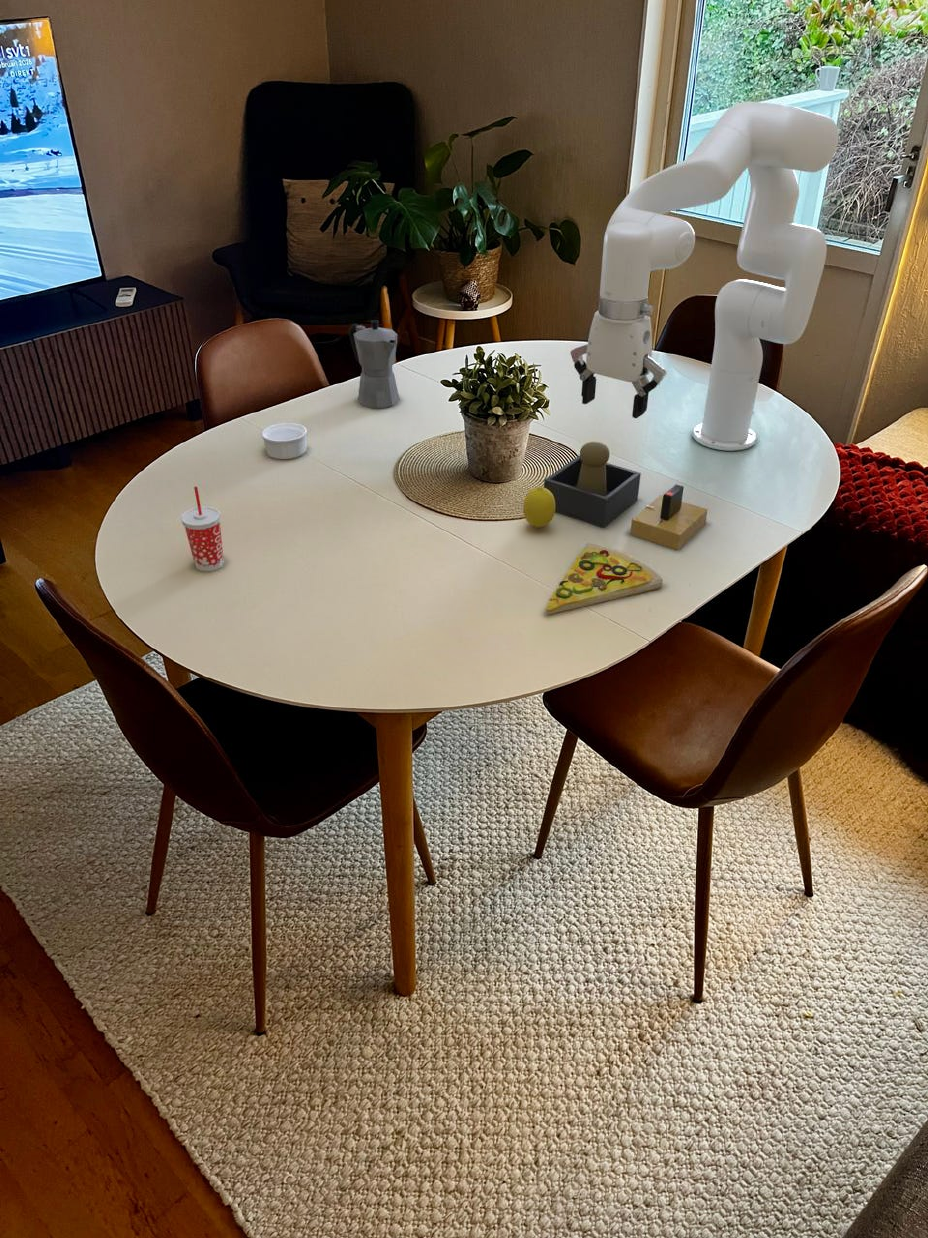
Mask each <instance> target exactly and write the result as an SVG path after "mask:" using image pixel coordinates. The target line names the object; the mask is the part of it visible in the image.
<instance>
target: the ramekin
mask: <svg viewBox="0 0 928 1238" xmlns="http://www.w3.org/2000/svg"><path fill="white" fill-rule="evenodd" d="M307 434H308V429H307V427H305V426H304V425H302V424H300V423H295V422H281V423H275V424H272V425H269V426H267V427H265V428H264V429H263V430H262V431H261V436H262V440H263V443H264V448H265V452H266V454H267V455H268V456H269V457H271V458H273V459H277V460H290V459H295V458H298V457H300V456H302V455H303V454H305V452H306V451H307V447H308V446H307V445H308V444H307Z"/></svg>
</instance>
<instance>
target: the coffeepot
mask: <svg viewBox="0 0 928 1238" xmlns="http://www.w3.org/2000/svg"><path fill="white" fill-rule="evenodd" d="M370 324H371V327H368V328H366V326H364V325H361V324H360V325H359V324H358V323H352V324H351V326H350V327H349V329H348V336H349V339H350V343H351V347H352V350H353V354H354V357H355V358H354V359H355V360H356V361H357V362H358V363H359V365H360V366H361V373H360V376H359V384H358V385H359V386H358V395H357V401H358V403H359V404H360V405H361V406H362V407H364V408H368V409H378V410H379V409H380V410H381V409H387V408H391V407H393V406H396V405H397V404H398V402H399V401H401V400H400V394H399V391H398V385H397V381H396V377H395V373H394V371H393V366H394V365H395V362H396V361H395V360H396V354H397V353H396V352H397V344H398V334H397V333H396V331H394V329H391V328H386V327H379V320H377V319H373V320H370Z"/></svg>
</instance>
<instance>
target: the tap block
mask: <svg viewBox="0 0 928 1238" xmlns="http://www.w3.org/2000/svg"><path fill="white" fill-rule="evenodd" d="M663 495H664V494H660V495H659V496H658V497H657V498H655V499H654V500H653V501H652V502H650V503H649V504H648V505H645V507H644V509H642V510H641V511H640V512H639V513H637V514H636V515H635V516H634V517H633V518H632V519H631V525H630V533H629V535H630V536H634V537H637V538H640V539H643V540H646V541H649V542H651V543H655V544H658V545H661V546H664V547H667V548H670V549H673V550H676V551H679V550H680V549H681V548H682V547H683V546H684V545H685V544H686V543H688V542H689V540H690V539H691V538H692V537H693V536H695V535H696V534H697V533H698V532H699V531H700V530H701V529H702V528H704V526H705V525H706V521H707V518H708V517H707V516H708V510H709V509H708V508H705V507H702V506H699V505H695V504H693V503H689V502H685V501H682V503H681V509H680V510H679V511H678V512H677V513H676V514H675V515H674V516H672V517H671V518H670V519H669V520H668V521H667V520H664V519H661V518H660V515H661V508H662V501H663Z"/></svg>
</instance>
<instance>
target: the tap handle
mask: <svg viewBox="0 0 928 1238" xmlns="http://www.w3.org/2000/svg"><path fill="white" fill-rule="evenodd" d="M684 489H685V486H683V485H681V484H677V483H676V484H674V486H672V487H671V488H669V489H668V490H667V491H666V492H665V493H664V494H662V495H663V501H662V508H661V515H660V518H661V519H664V520H667V521H668V520H669V519H670V518H671V517H672V516H674V515H675V514H676V513H677V512H678V511H679V510H680V509H681V503H682V502H683V496H684Z"/></svg>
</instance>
